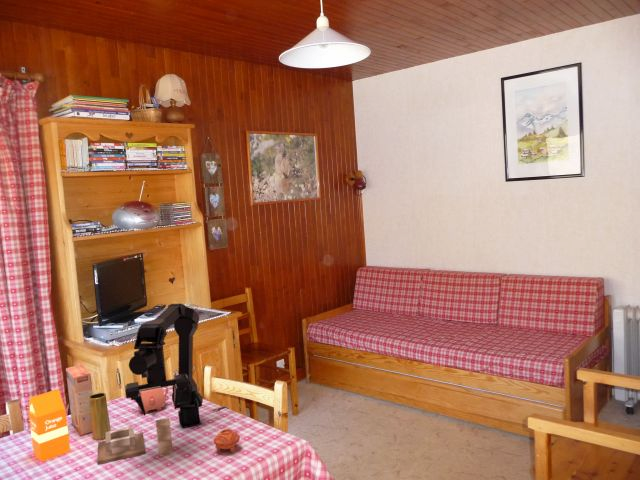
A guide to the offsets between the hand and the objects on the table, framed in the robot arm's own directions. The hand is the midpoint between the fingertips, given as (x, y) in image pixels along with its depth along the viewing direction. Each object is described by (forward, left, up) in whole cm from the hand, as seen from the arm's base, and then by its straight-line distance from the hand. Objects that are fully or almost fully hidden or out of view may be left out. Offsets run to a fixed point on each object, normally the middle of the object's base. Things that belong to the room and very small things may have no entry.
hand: (160, 411), depth 171 cm
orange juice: (+33, -18, -13) cm, 40 cm away
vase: (+18, -23, -13) cm, 32 cm away
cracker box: (+25, -34, -13) cm, 44 cm away
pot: (-18, +8, -13) cm, 24 cm away
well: (+12, -9, -13) cm, 20 cm away
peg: (-1, 0, -13) cm, 13 cm away
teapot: (+1, -38, -13) cm, 40 cm away
